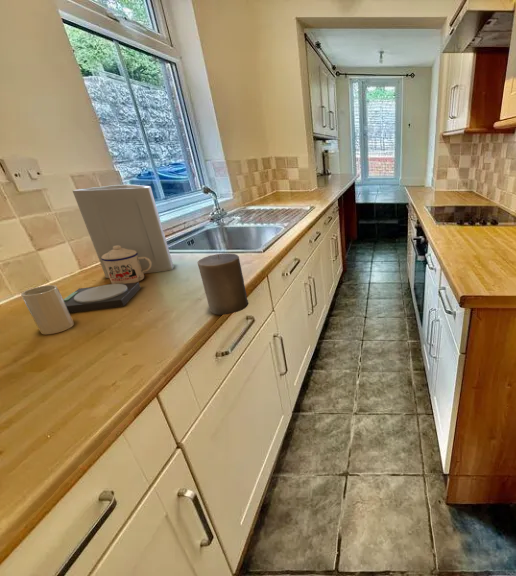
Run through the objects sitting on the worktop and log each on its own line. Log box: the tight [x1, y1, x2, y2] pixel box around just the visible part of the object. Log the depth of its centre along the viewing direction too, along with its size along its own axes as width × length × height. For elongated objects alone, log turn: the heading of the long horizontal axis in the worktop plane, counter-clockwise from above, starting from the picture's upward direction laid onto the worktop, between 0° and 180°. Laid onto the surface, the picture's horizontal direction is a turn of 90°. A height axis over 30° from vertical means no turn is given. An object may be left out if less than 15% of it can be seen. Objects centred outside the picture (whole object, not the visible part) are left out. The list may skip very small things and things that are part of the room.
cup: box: [20, 284, 75, 335], centre depth 74 cm, size 6×6×10 cm
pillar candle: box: [197, 253, 249, 316], centre depth 83 cm, size 10×10×15 cm
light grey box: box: [72, 183, 174, 279], centre depth 109 cm, size 19×15×28 cm
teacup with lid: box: [101, 245, 151, 284], centre depth 102 cm, size 12×9×12 cm
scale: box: [63, 281, 142, 314], centre depth 90 cm, size 15×13×2 cm
